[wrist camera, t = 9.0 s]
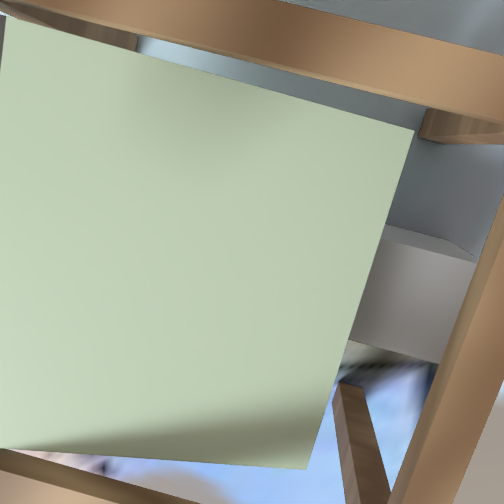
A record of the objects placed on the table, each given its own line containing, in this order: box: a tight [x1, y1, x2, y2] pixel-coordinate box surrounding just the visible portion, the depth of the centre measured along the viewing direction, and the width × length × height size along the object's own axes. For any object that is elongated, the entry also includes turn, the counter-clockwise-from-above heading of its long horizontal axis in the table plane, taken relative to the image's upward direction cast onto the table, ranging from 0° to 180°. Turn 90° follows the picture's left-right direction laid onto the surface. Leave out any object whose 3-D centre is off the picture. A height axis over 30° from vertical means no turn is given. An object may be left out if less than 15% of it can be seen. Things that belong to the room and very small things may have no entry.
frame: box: [0, 0, 504, 504], centre depth 21 cm, size 19×18×14 cm
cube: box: [348, 224, 479, 364], centre depth 25 cm, size 5×5×6 cm
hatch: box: [0, 15, 414, 470], centre depth 17 cm, size 13×14×1 cm
